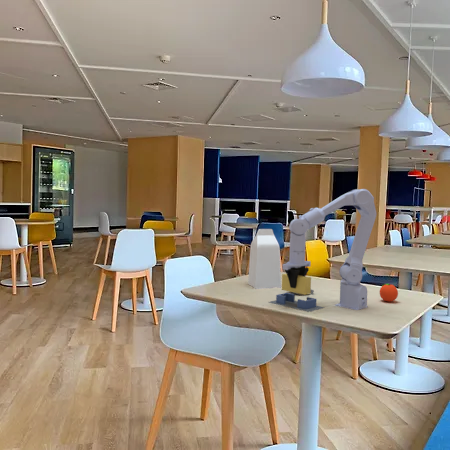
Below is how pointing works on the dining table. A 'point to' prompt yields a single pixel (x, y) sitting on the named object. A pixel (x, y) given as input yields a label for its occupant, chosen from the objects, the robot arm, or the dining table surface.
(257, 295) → the dining table surface
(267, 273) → the milk
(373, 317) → the dining table surface
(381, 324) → the dining table surface
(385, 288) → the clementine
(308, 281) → the slat
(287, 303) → the mat
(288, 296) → the end cap
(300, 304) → the end cap
